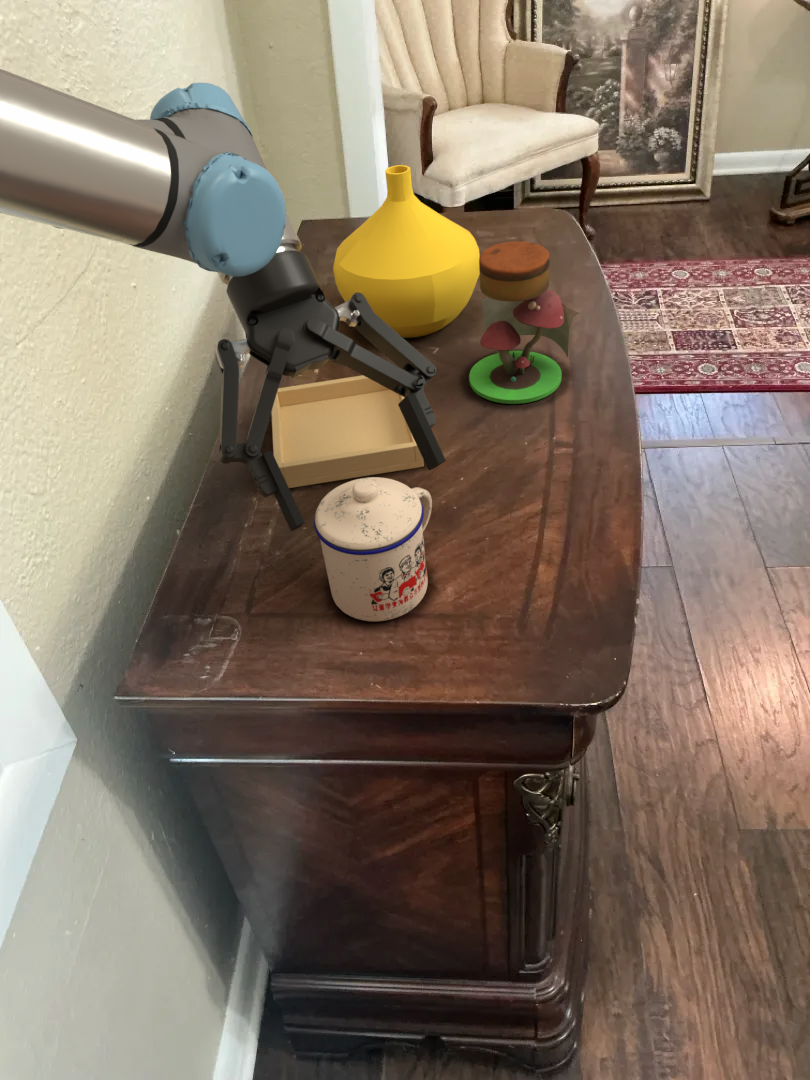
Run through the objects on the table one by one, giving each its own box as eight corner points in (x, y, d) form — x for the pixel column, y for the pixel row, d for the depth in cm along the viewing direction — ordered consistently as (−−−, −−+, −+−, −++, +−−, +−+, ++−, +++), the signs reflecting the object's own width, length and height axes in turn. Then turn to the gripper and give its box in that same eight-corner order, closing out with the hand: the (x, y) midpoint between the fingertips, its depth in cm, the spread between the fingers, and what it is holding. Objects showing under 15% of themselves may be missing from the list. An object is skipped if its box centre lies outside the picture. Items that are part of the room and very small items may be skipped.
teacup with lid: (384, 642, 72) (368, 539, 64) (308, 596, 77) (284, 495, 69) (471, 560, 78) (465, 457, 71) (395, 523, 83) (382, 423, 75)
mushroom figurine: (565, 412, 94) (570, 284, 84) (454, 402, 98) (446, 277, 88) (582, 356, 102) (589, 233, 92) (478, 348, 106) (474, 229, 96)
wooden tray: (279, 490, 89) (274, 468, 87) (274, 410, 100) (270, 389, 98) (424, 466, 89) (421, 444, 87) (403, 389, 101) (401, 369, 99)
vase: (328, 355, 108) (302, 203, 95) (357, 287, 121) (338, 145, 108) (474, 356, 105) (468, 198, 92) (488, 286, 118) (484, 139, 105)
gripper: (379, 246, 81) (475, 451, 81) (124, 332, 73) (230, 560, 73) (403, 207, 74) (507, 431, 74) (122, 297, 66) (239, 549, 66)
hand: (369, 496), depth 74 cm, fingers open, 13 cm apart
